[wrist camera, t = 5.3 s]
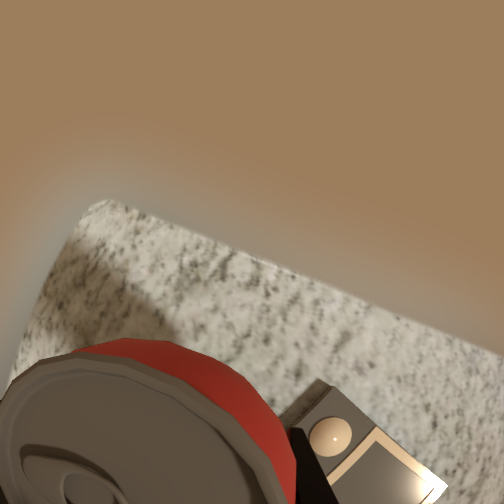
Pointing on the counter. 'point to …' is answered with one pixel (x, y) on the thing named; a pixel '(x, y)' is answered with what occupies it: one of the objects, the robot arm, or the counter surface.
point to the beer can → (141, 431)
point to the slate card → (364, 456)
